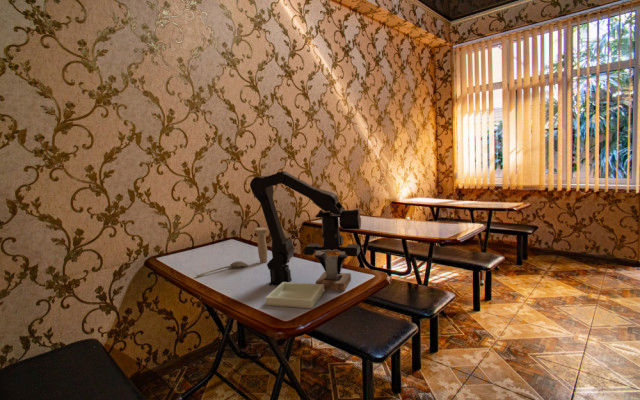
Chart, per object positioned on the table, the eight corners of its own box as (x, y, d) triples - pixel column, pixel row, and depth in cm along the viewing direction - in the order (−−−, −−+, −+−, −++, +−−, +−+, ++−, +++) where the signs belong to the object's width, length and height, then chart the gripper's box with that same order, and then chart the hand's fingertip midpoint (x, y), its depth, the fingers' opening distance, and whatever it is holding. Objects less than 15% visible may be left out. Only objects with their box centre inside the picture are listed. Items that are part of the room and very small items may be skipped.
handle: (264, 259, 154) (261, 226, 152) (272, 262, 150) (269, 228, 148) (255, 261, 151) (252, 228, 149) (262, 264, 146) (259, 230, 145)
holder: (315, 289, 116) (315, 282, 115) (324, 278, 125) (324, 272, 125) (344, 291, 113) (344, 283, 112) (351, 280, 122) (350, 273, 122)
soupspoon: (251, 268, 146) (244, 266, 151) (250, 260, 146) (244, 258, 151) (199, 280, 133) (194, 277, 138) (198, 271, 133) (193, 268, 138)
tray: (266, 305, 106) (265, 297, 105) (283, 288, 118) (282, 282, 118) (311, 308, 101) (311, 300, 101) (324, 291, 113) (324, 284, 113)
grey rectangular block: (326, 286, 118) (325, 258, 116) (330, 282, 121) (328, 255, 120) (338, 287, 116) (336, 258, 115) (340, 282, 120) (339, 255, 119)
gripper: (361, 224, 121) (363, 267, 123) (312, 224, 127) (315, 265, 129) (355, 231, 111) (357, 277, 113) (302, 231, 116) (305, 275, 118)
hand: (333, 273), depth 118 cm, fingers closed on grey rectangular block, 4 cm apart
